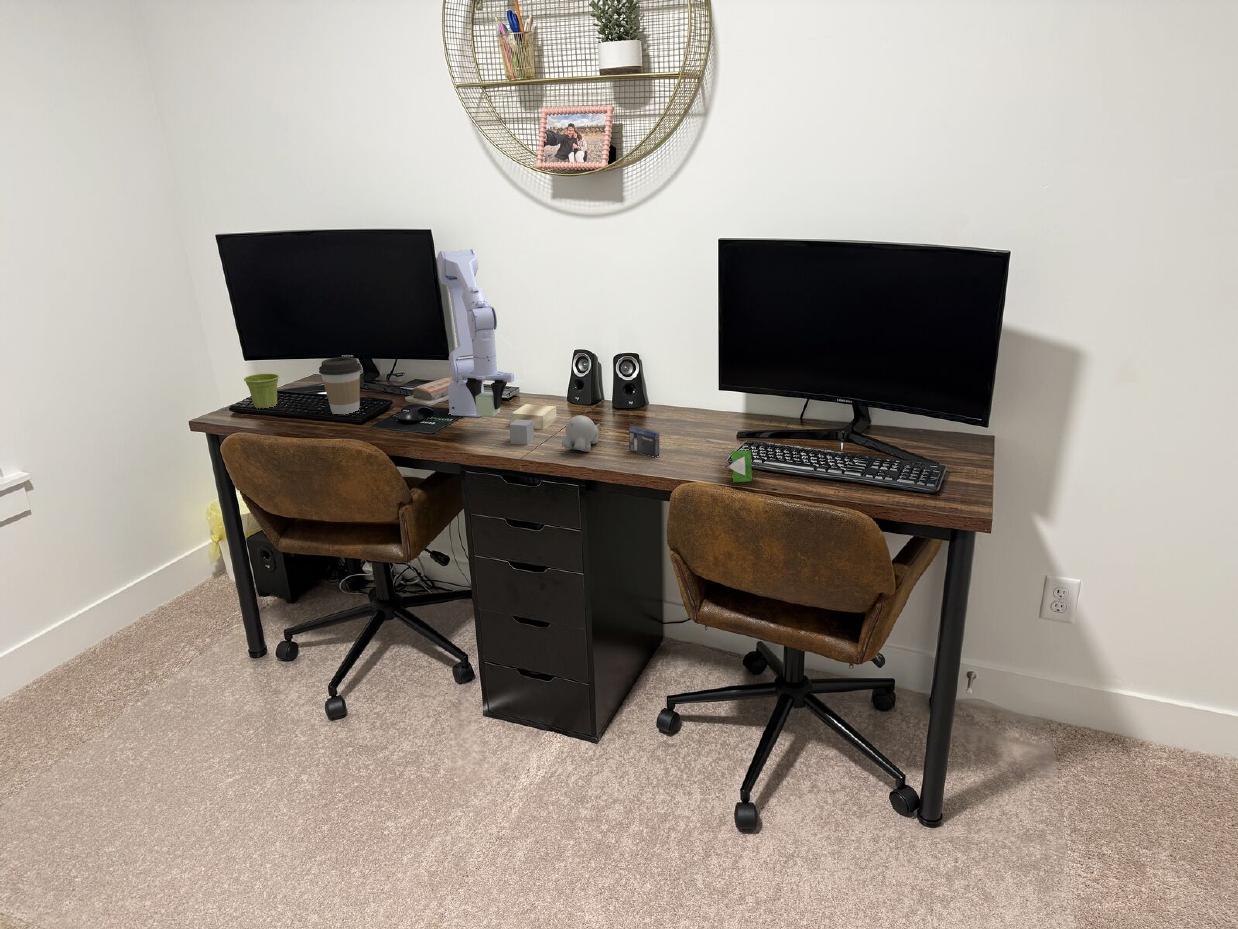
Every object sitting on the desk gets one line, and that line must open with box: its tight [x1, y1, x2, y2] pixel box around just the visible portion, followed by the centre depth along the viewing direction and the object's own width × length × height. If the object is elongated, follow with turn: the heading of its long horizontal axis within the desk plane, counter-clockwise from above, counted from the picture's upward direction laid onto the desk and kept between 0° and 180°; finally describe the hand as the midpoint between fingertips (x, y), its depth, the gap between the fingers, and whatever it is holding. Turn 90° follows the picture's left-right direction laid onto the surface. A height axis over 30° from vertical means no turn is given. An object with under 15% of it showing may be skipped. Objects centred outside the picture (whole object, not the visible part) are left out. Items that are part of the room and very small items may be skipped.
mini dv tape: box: [628, 425, 660, 458], centre depth 203 cm, size 8×2×6 cm, turn 48°
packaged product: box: [404, 376, 453, 407], centre depth 255 cm, size 18×5×10 cm
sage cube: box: [476, 391, 501, 417], centre depth 219 cm, size 4×4×5 cm
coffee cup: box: [318, 356, 362, 415], centre depth 238 cm, size 11×11×15 cm
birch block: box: [510, 403, 558, 430], centre depth 228 cm, size 9×9×4 cm
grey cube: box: [509, 419, 535, 446], centre depth 214 cm, size 4×4×5 cm
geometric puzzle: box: [724, 449, 760, 483], centre depth 186 cm, size 7×7×8 cm
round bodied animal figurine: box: [561, 414, 600, 453], centre depth 208 cm, size 7×12×8 cm, turn 148°
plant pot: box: [243, 373, 280, 409], centre depth 247 cm, size 9×9×9 cm
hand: (488, 407), depth 220 cm, fingers closed on sage cube, 4 cm apart
